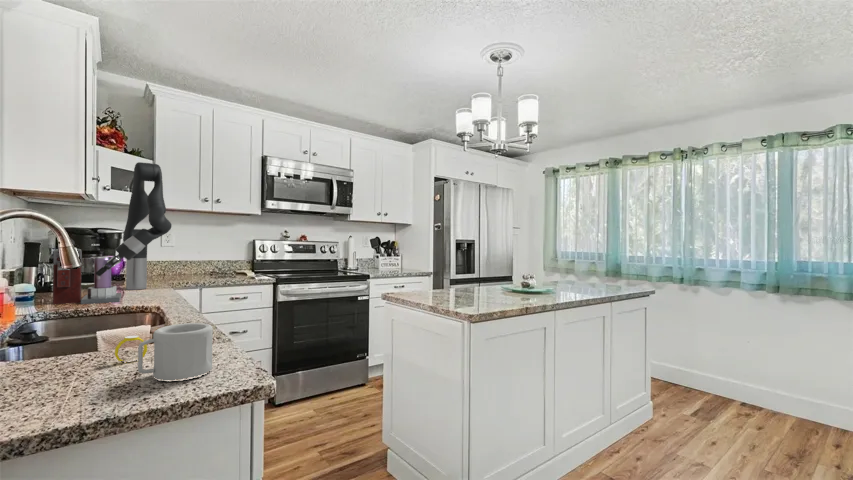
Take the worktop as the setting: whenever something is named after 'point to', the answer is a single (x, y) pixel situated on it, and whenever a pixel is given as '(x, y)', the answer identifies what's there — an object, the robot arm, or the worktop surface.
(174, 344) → the mug
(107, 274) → the beverage can
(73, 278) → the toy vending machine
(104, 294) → the transparent rectangular container
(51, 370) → the worktop surface
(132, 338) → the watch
